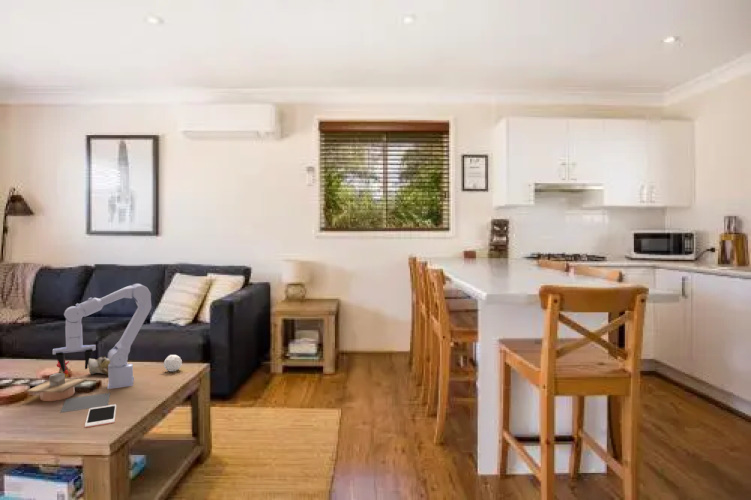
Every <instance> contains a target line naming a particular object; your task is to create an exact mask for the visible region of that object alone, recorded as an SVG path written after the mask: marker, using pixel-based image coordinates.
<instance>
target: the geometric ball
mask: <svg viewBox="0 0 751 500" xmlns="http://www.w3.org/2000/svg"><path fill="white" fill-rule="evenodd" d="M182 363H183V361H182V359H181V356H179V355H177V354H169V355H168V356H167V357H166V358H165V360H164V361H163V367H164V368H165V370H167V372H177V371H178V370H179V369H180V368H181V366H182V365H183V364H182Z"/></svg>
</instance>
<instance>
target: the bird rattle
mask: <svg viewBox="0 0 751 500" xmlns="http://www.w3.org/2000/svg"><path fill="white" fill-rule="evenodd" d="M56 360H57V359H56ZM69 363H70V361H65V372H62V368H61V365H60V363H59V361H58V360H57V364H56V367H57V368H59V370H58V372H57V373H65V379H68V376H69V371H70V370H69V366H68V364H69Z"/></svg>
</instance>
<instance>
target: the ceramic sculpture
mask: <svg viewBox="0 0 751 500" xmlns="http://www.w3.org/2000/svg"><path fill="white" fill-rule="evenodd" d="M110 362H111V361H110V360H109V359H108V357H106V356H105V355H102V356H100V357H98V358H97V359H95V358H91V357H90V358H89V362H88V371H89V373H90V375H96V374H101V375H107V376H108V365H109V363H110Z"/></svg>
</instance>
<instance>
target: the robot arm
mask: <svg viewBox="0 0 751 500" xmlns="http://www.w3.org/2000/svg"><path fill="white" fill-rule="evenodd" d="M151 296H152V293H151V291H150V290H149V288H148V287H147V286H145V285H143V284H141V283H133V284H131V285H128V286H125V287H122V288H121V289H118V290H115V291H113V292H112V293H109V294H107V295H105V296H103V297H100V298H98V297H88V298H87V300H85V301H83V302H81V303H78V302H77V303H76V304H75V306H74V305H71V306H69V307H67V308H66V309H65V310H64V312H63V316H64V318H65V326H64V328H65V329H64V330H65V346H64V347H56V348H53V349H52V355H55V359H56V360H58V361H59V363H60V365H61V368H62V372H65V363H66V355H65V354H67V353H68V354H69V353H76V352H78V353H79V352H84V360H85V361H84V370H87V369H89V367H88V362H89V358H90V359H91V355H92V354H93V352H94V351H96V350H97V349H96V344H83V339H84V338H83V337H84V336H83V324H82V320H83V317H84V318H85V317H88V316H90V315H92V314H94V313H97V312H99V311H101V310H102V309H103V307H104V306H106V305H108V304H111V303H113V302H115V301H119V300H121V299H133V300H134V301H135V304H136V306H137V308H136V309H135V311H134V314H133V316H132V317H131V318H130V320H129V322H128V324H127V326H126V327H125V329H124V332H123V333H122V335H121V337H120V338H119V340H118V342H116V343H115V344H114V347H112V348H111V349H110V350H109V351H108V352H107V358H108V359H109V360H110V361H111V362H110V363H109V365H108V375H107V376H108V377H107V378H108V383H107V390H110V389H117V388H118V389H119V388H124V387H126V388H128V387H132V386H134V381H135V377H134V368H133V365H134V364H133V363H128V360H129V354H130V352H131V346H132V345H133V342H134V341H135V339H136V337H137V335H138V333H139V332H140V330H141V328H142V327H143V324H144V323H145V321H146V319H147V317H148V315H149V314H150V312H151V309H152V297H151ZM58 361H57V362H58Z"/></svg>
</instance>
